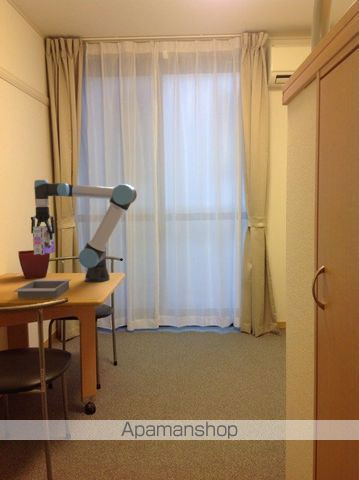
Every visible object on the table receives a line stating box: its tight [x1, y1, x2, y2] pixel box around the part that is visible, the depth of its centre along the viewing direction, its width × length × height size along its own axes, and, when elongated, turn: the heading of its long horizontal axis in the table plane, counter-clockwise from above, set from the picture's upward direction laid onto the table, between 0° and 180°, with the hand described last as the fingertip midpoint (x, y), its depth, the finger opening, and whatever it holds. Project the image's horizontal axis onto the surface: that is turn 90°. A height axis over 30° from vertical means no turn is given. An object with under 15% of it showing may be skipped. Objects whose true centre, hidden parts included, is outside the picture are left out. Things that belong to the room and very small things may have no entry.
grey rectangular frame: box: [13, 278, 72, 299], centre depth 202 cm, size 20×27×5 cm
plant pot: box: [17, 249, 51, 279], centre depth 250 cm, size 19×19×17 cm
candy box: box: [32, 225, 56, 255], centre depth 222 cm, size 14×6×16 cm, turn 169°
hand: (44, 245), depth 223 cm, fingers closed on candy box, 6 cm apart
